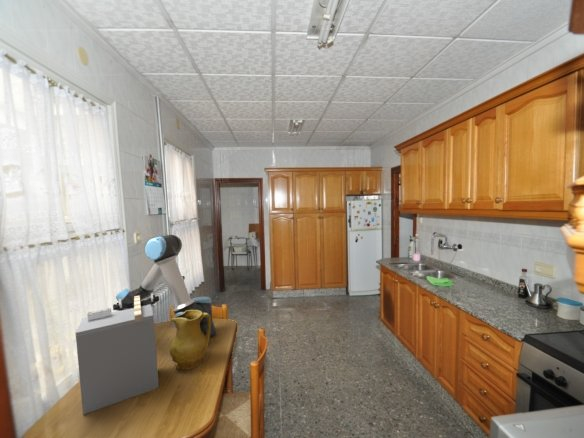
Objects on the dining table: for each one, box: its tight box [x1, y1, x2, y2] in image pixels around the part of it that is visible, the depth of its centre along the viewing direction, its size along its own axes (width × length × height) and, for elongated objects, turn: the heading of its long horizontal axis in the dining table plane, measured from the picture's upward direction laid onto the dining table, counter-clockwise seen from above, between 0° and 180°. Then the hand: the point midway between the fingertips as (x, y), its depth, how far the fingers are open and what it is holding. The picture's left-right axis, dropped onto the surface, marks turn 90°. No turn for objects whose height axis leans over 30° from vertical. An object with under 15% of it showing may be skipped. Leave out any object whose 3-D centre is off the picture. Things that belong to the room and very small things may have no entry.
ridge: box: [86, 307, 112, 321], centre depth 113 cm, size 2×8×3 cm, turn 121°
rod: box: [134, 295, 142, 322], centre depth 120 cm, size 30×2×2 cm, turn 31°
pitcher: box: [169, 310, 211, 371], centre depth 131 cm, size 17×19×25 cm
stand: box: [75, 304, 160, 416], centre depth 113 cm, size 16×26×32 cm, turn 121°
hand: (136, 298), depth 128 cm, fingers open, 13 cm apart
